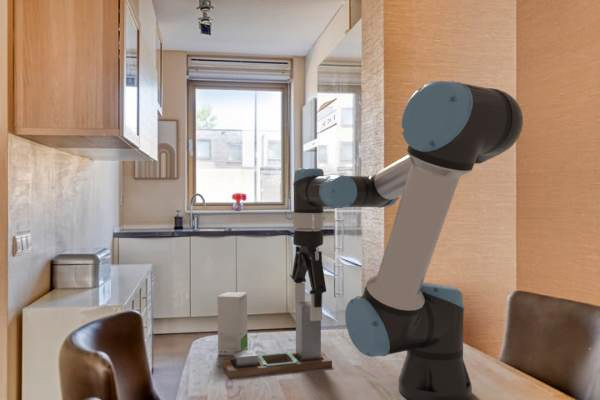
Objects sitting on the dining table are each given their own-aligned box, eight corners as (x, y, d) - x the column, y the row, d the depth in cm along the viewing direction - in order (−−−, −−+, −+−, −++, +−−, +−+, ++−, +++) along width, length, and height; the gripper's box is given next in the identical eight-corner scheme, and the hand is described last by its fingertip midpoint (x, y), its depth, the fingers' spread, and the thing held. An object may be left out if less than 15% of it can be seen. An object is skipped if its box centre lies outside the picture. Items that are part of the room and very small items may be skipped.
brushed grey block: (320, 365, 124) (320, 304, 124) (301, 367, 123) (301, 306, 123) (314, 359, 129) (314, 301, 129) (295, 360, 128) (295, 302, 128)
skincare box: (240, 356, 131) (240, 297, 131) (215, 355, 132) (215, 296, 132) (248, 347, 139) (248, 291, 139) (225, 346, 140) (225, 290, 140)
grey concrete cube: (257, 372, 120) (257, 355, 120) (236, 374, 118) (236, 357, 118) (253, 365, 124) (253, 349, 124) (233, 367, 123) (233, 351, 123)
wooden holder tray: (332, 366, 123) (332, 359, 123) (229, 377, 115) (229, 369, 115) (319, 355, 132) (319, 348, 132) (223, 364, 124) (223, 357, 124)
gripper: (340, 233, 115) (339, 325, 115) (307, 226, 139) (306, 302, 139) (309, 234, 113) (308, 327, 113) (281, 226, 137) (280, 303, 137)
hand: (307, 313), depth 126 cm, fingers open, 13 cm apart
